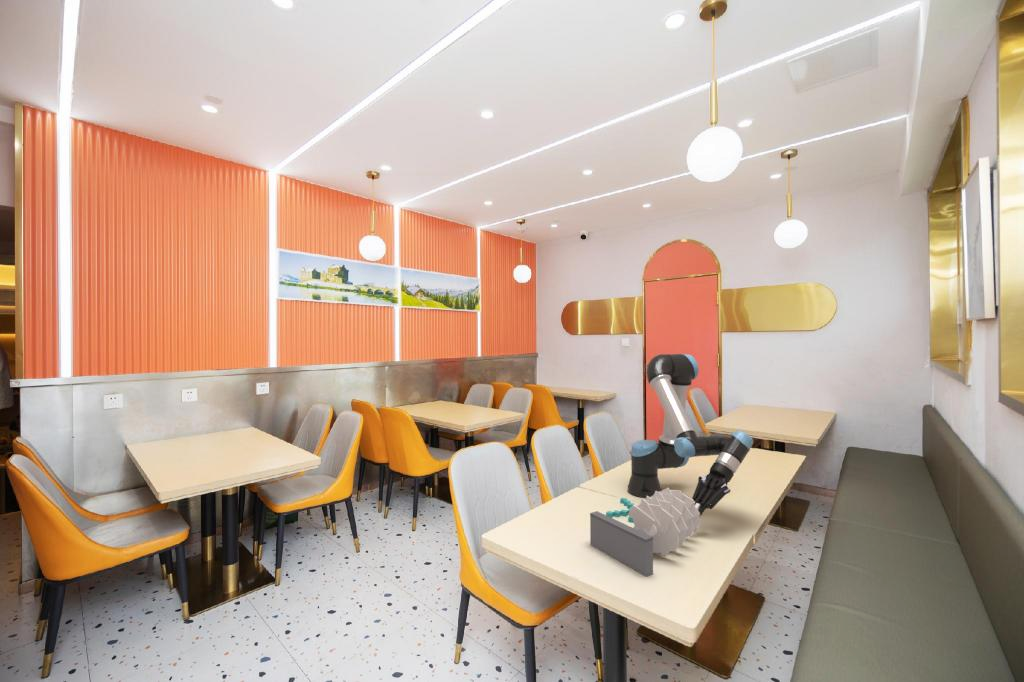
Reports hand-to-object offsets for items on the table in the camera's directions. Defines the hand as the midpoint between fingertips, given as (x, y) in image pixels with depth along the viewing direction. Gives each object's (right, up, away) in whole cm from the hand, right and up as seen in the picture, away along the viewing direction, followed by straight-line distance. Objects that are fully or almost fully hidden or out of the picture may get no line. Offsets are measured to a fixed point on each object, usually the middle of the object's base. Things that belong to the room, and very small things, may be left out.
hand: (690, 520), depth 153 cm
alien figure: (-12, -7, +21) cm, 25 cm away
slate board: (-29, -6, -15) cm, 33 cm away
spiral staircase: (-11, -6, -6) cm, 14 cm away
